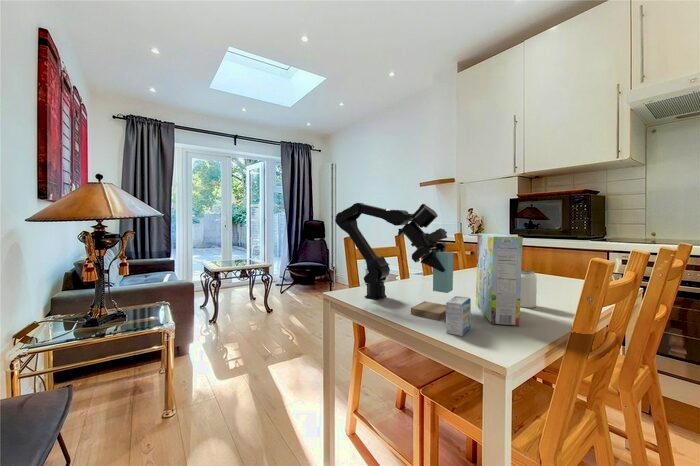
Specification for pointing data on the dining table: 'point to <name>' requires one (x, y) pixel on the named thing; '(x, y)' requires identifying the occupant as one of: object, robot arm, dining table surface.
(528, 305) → the can
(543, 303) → the dining table surface
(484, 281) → the snack box
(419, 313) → the podium
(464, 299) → the medicine box
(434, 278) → the carton
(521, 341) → the dining table surface
